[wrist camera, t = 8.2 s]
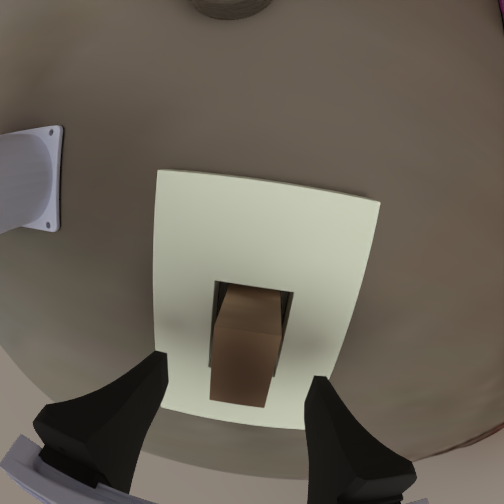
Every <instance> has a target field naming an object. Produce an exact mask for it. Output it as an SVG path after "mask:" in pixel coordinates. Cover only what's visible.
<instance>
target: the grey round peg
mask: <svg viewBox="0 0 504 504" xmlns="http://www.w3.org/2000/svg"><path fill="white" fill-rule="evenodd" d="M191 1H192V3H193V4H194V6H195V7H196V9H197V10H198V11H199V12H201V13H202V14H204V15H206V16H208V17H211V18H214V19H220V20H235V19H241V18H246V17H249V16H252V15H254V14H256V13H258V12H260V11H262V10H263V9H265V8H266V7H267V6H268V5H269V4H270V3H271V1H272V0H191Z"/></svg>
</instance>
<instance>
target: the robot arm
mask: <svg viewBox="0 0 504 504" xmlns="http://www.w3.org/2000/svg"><path fill="white" fill-rule="evenodd" d="M52 132H53V135H52ZM62 136H63V128H62V126H60V125H55V126H47V127H41V128H34V129H28V130H23V131H17V132H12V133H8V134H3V135H0V234H2V233H4V232H7V231H10V230H12V229H15V228H18V227H20V226H22V227H27V228H33V229H38V230H44V231H50V232H56V231H58V230H59V226H60V225H59V176H60V158H61V145H62ZM49 223H50V225H49ZM168 383H169V377H168V359H167V353H165V352H161V351H154V352H153V353H151V354H150V355H149V356H148V357H147V358H145V359H144V360H143V361H142V362H140V363H139V364H138V365H137V366H135V367H134V368H133V369H131V370H130V371H129V372H127V373H126V374H124V375H123V376H121V377H120V378H118V379H117V380H115V381H113V382H112V383H110V384H108V385H107V386H105V387H103V388H101V389H99V390H97V391H94V392H92V393H89V394H87V395H84V396H82V397H78V398H75V399H72V400H68V401H64V402H59V403H53V404H47V405H46V406H45V407H44V408H43V409H42V410H41V412H40V413H39V414H38V415H37V417H36V418H35V420H34V421H33V426H34V429H35V431H36V432H37V434H38V435H39V437H40V438H41V440H42V441H43V443H44V444H45V445H44V447H43V449H42V448H41V447H40V446H38V445H37V444H36V443H34V442H33V441H31V440H30V439H28V438H27V437H25V436H24V435H20V436H19V437H18V438H17V440H16V441H15V443H14V444H13V445H12V447H11V448H10V449H9V451H8V452H7V454H6V455H5V457H4V458H3V459H2V461H1V462H0V468H1V469H2V470H3V471H4V472H5V473H6V474H7V475H8V476H9V477H10V478H11V479H12V480H13V481H14V482H15V483H16V484H18V485H19V486H20V487H21V488H22V489H23V490H25V491H26V492H27V493H29V494H30V495H32V496H33V497H34V498H36V499H38V500H39V501H40V502H42V503H43V504H156V503H153V502H150V501H147V500H144V499H141V498H138V497H135V496H132V495H129V491H130V487H131V483H132V478H133V475H134V471H135V467H136V463H137V460H138V457H139V454H140V450H141V447H142V444H143V441H144V438H145V436H146V433H147V431H148V429H149V427H150V425H151V423H152V421H153V419H154V417H155V415H156V413H157V411H158V408H159V406H160V404H161V402H162V400H163V398H164V395H165V392H166V389H167V386H168ZM304 424H305V432H306V440H307V447H308V456H309V485H308V501H307V504H401V502H400V501H402V500H403V496H402V493H403V492H404V491H405V490H407V489H408V488H409V487H410V486H411V485H412V484H413V483H414V482H415V481H416V479H417V476H416V472H415V469H414V466H413V464H412V462H411V461H409V460H408V459H406V458H404V457H402V456H400V455H398V454H396V453H395V452H393V451H392V450H390V449H389V448H387V447H386V446H384V445H383V444H382V443H380V442H379V441H378V440H377V439H376V438H374V437H373V436H372V435H371V434H370V433H369V432H368V431H367V430H366V429H365V428H364V427H363V426H362V425H361V424H360V423H359V422H358V421H357V420H356V419H355V417H354V416H353V415H352V414H351V412H350V411H349V410H348V408H347V407H346V406H345V404H344V403H343V401H342V400H341V399H340V397H339V396H338V394H337V392H336V391H335V389H334V388H333V386H332V385H331V383H330V381H329V380H328V378H327V377H326V376H316V375H314V377H313V380H312V383H311V386H310V388H309V391H308V394H307V396H306V399H305V402H304ZM407 504H429V503H428V500H427V498H425V499H422V500H418V501H414V502H410V503H407Z"/></svg>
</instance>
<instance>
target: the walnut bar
mask: <svg viewBox="0 0 504 504" xmlns="http://www.w3.org/2000/svg"><path fill="white" fill-rule="evenodd" d="M281 337H282V329H281V300H280V290H275V289H268V288H262V287H255V286H248V285H242V284H235V283H230V284H229V286H228V289H227V292H226V295H225V298H224V300H223V303H222V306H221V309H220V311H219V314H218V317H217V320H216V323H215V325H214V336H213V350H212V364H211V379H210V396H209V400H214V401H219V402H225V403H231V404H237V405H244V406H252V407H259V408H264V407H265V403H266V399H267V395H268V391H269V388H270V383H271V379H272V375H273V371H274V367H275V363H276V359H277V354H278V350H279V346H280V341H281Z"/></svg>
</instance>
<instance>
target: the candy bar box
mask: <svg viewBox="0 0 504 504" xmlns="http://www.w3.org/2000/svg"><path fill="white" fill-rule="evenodd" d="M499 3H500V7H501V12H502V18H503V24H504V0H499Z"/></svg>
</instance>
